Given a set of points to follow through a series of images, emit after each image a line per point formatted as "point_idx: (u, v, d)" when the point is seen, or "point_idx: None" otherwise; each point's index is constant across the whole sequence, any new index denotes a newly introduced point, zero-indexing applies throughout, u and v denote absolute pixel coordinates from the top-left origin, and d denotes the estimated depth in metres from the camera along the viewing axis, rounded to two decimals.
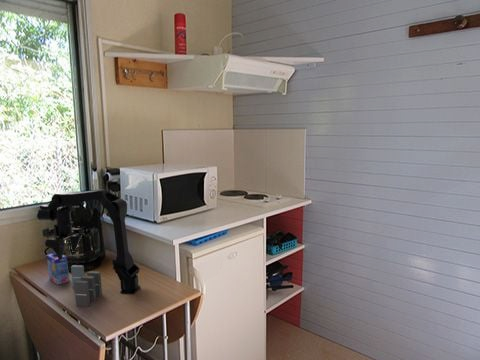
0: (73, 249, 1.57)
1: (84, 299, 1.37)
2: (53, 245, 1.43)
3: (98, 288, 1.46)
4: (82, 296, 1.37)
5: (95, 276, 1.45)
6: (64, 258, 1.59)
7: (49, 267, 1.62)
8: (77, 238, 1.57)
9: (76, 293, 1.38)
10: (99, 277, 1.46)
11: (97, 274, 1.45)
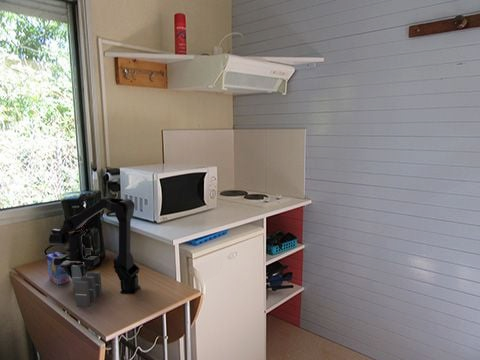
0: None
1: (84, 299, 1.37)
2: None
3: (98, 288, 1.46)
4: (82, 296, 1.37)
5: (95, 276, 1.45)
6: None
7: (49, 267, 1.62)
8: None
9: (76, 293, 1.38)
10: (99, 277, 1.46)
11: (97, 274, 1.45)
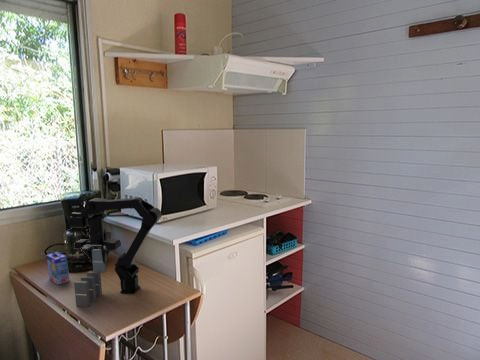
0: None
1: (84, 299, 1.37)
2: None
3: (98, 288, 1.46)
4: (82, 296, 1.37)
5: (95, 276, 1.45)
6: (64, 258, 1.59)
7: (49, 267, 1.62)
8: None
9: (76, 293, 1.38)
10: (99, 277, 1.46)
11: (97, 274, 1.45)
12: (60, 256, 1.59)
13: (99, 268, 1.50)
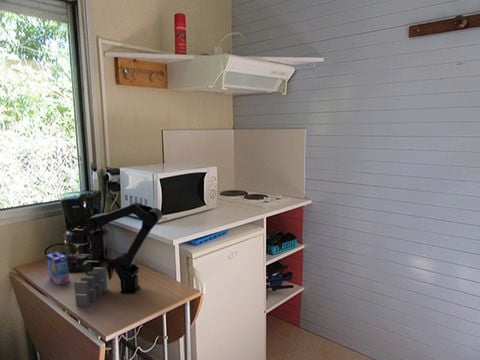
0: None
1: (84, 299, 1.38)
2: None
3: (98, 288, 1.46)
4: (82, 296, 1.37)
5: (95, 276, 1.45)
6: (64, 258, 1.59)
7: (49, 267, 1.62)
8: None
9: (76, 293, 1.38)
10: (99, 277, 1.46)
11: (97, 274, 1.45)
12: (60, 256, 1.59)
13: None
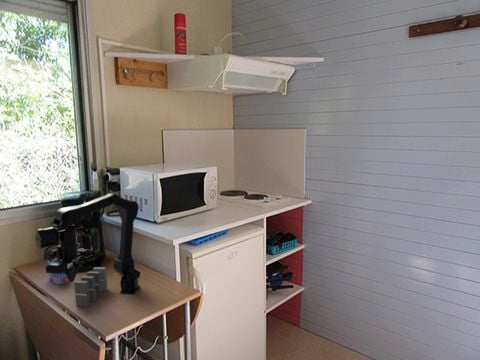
0: None
1: (84, 299, 1.38)
2: (55, 271, 1.22)
3: (98, 288, 1.46)
4: (82, 296, 1.37)
5: (95, 276, 1.45)
6: None
7: None
8: (76, 265, 1.31)
9: (76, 293, 1.38)
10: (99, 277, 1.46)
11: (97, 274, 1.45)
12: None
13: None
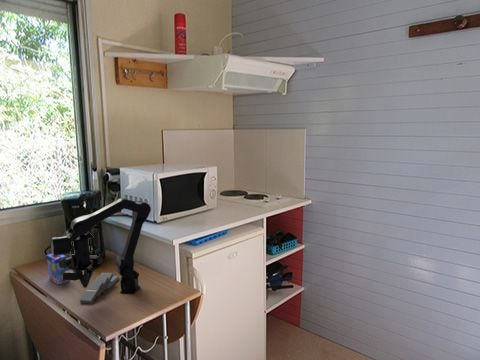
0: None
1: (91, 294, 1.42)
2: (71, 278, 1.30)
3: None
4: (91, 292, 1.44)
5: (108, 275, 1.56)
6: None
7: (49, 267, 1.62)
8: (90, 272, 1.40)
9: (87, 289, 1.45)
10: (110, 277, 1.55)
11: (111, 273, 1.56)
12: (60, 256, 1.59)
13: None
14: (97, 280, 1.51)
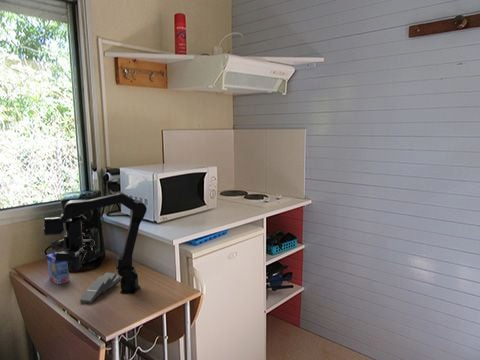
0: None
1: (92, 294, 1.42)
2: (64, 259, 1.31)
3: None
4: (92, 291, 1.44)
5: (111, 275, 1.56)
6: None
7: (49, 267, 1.62)
8: (82, 254, 1.41)
9: (88, 289, 1.45)
10: (113, 278, 1.55)
11: (114, 274, 1.56)
12: None
13: None
14: (99, 280, 1.51)
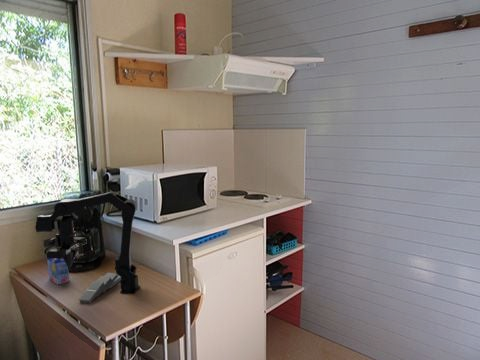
0: None
1: (91, 294, 1.43)
2: (55, 257, 1.34)
3: None
4: (91, 291, 1.44)
5: (112, 275, 1.56)
6: None
7: (49, 267, 1.62)
8: (74, 252, 1.44)
9: (88, 289, 1.45)
10: (114, 278, 1.55)
11: (115, 274, 1.56)
12: None
13: None
14: (100, 279, 1.52)
